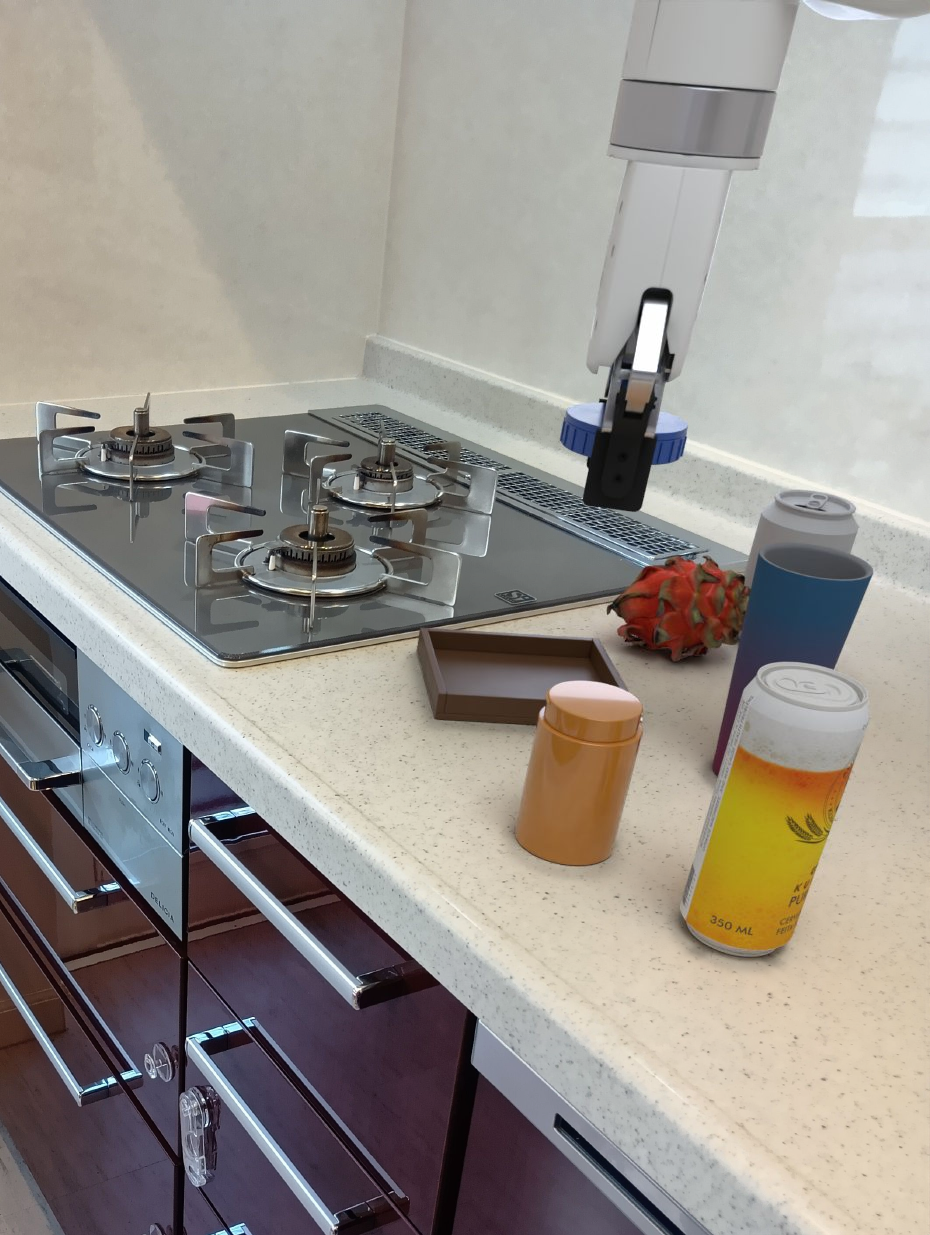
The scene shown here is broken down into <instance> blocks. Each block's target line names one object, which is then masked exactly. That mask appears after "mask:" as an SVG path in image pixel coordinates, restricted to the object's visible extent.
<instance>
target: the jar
mask: <svg viewBox="0 0 930 1235" xmlns="http://www.w3.org/2000/svg"><path fill="white" fill-rule="evenodd" d="M545 700H546V706H544V707H543V708H542V709H541V710H540V712H539V714H538V719H537V724H536V725H535V729H534V734H533V739H532V744H531V750H530V753H529V759H528V764H527V768H526V773H525V779H524V784H523V787H522V788H523V789H522V794H521V799H520V803H519V808H518V813H517V818H516V823H515V828H514V836H515V838H516V841H517V842H518V843H519V845H520V846H521V847H522V848H523V849H524V850H526V851H527V852H529V853H531V854H532V855H533V856H535V857H538V858H540V859H542V860H545V861H548V862H552V863H555V864H560V865H567V866H590V865H595V864H599V863H602V862H604V861H606V860H607V859H608V858H609V857H610V856H612V854H613V852H614V848H615V845H616V840H617V837H618V832H619V830H620V825H621V820H622V817H623V812H624V809H625V806H626V801H627V797H628V793H629V789H630V785H631V781H632V777H633V773H634V770H635V765H636V761H637V757H638V753H639V749H640V746H641V742H642V739H643V738H642V737H643V734H644V730H643V726H642V724H643V722H644V721H643V717H644V715H643V711H644V706H643V703H642V701H641V700H640V699H639V698H638V697H637V696H635V695H634V694H633V693H632V692H630V691H629V692H627V691H625V690H623V689H621V688H618V687H615V686H612V685H609V684H604V683H599V682H593V681H567V682H562V683H559V684H556V685H555V686H553V687H552V688H550V689H549V690H548V692H546V697H545Z"/></svg>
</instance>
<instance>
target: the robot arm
mask: <svg viewBox="0 0 930 1235" xmlns="http://www.w3.org/2000/svg"><path fill="white" fill-rule="evenodd" d="M802 2H803V3H804V4H805V5H806V6H807V7H808V8H810V9H811V10H812V11H814V12H815V13H817V14H819V15H821V16H823V17H826V18H829V19H833V20H837V21H862V20H863V21H864V20H869V21H891V20H904V19H905V20H906V19H912V18H919V17H921V16H926V15H930V0H634V6H633V10H632V15H631V22H630V27H629V33H628V38H627V42H626V49H625V55H624V61H623V65H622V71H621V78H622V79H621V80H620V81H619V86H618V91H617V97H616V102H615V108H614V113H613V118H612V124H611V128H610V129H611V130H610V135H609V140H608V142H609V143H608V146H607V151H606V156H608V157H609V158H611V157H612V158H614V159H619V160H624V161H627V162H626V165H625V169H624V172H623V176H622V179H621V184H620V187H619V191H618V195H617V199H616V203H615V208H614V211H613V217H612V220H611V226H610V231H609V235H608V240H607V245H606V251H605V258H604V262H603V266H602V272H601V277H600V282H599V288H598V295H597V299H596V303H595V309H594V314H593V319H592V325H591V330H590V337H589V342H588V347H587V353H586V361H585V366H586V367H587V369H588V371H590V373H591V374H593V375H598V372H599V367H606V368H609V369H608V370H609V371H608V375H607V379H606V385H605V389H604V394H603V398H599V399H598V403H607V404H606V409H605V414H604V420H603V425H602V429H599V428H597V429H596V434H595V439H594V444H593V449H592V454H591V458H590V457H586V458H587V459H586V468H587V474H586V479H585V485H584V489H583V494H582V502H583V504H584V505H585V506H587V507H592V508H593V507H594V508H600V509H608V510H616V511H623V512H631V513H636V512H639V511H640V510H641V509H642V507H643V504H644V500H645V496H646V491H647V486H648V482H649V477H650V475H651V474H650V473H651V468H652V466H653V465H652V461H653V456H654V452H655V447H656V443H657V439H658V436H655V431H656V427H657V422H658V417H659V412H660V411H661V407H662V402H663V398H664V397H663V396H664V391H665V387H666V386H665V385H666V383H670V382H673V381H674V380H676V379H677V378H679V377H680V376H681V373H682V371H683V367H684V364H685V361H686V358H687V354H688V352H689V347H690V344H691V341H692V337H693V335H694V334H693V333H694V332H695V327H696V324H697V321H698V317H699V313H700V310H701V306H702V302H703V298H704V295H705V291H706V287H707V283H708V279H709V276H710V272H711V267H712V264H713V260H714V257H715V256H714V255H715V252H716V247H717V243H718V239H719V235H720V231H721V226H722V222H723V219H724V214H725V209H726V205H727V201H728V197H729V193H730V187H731V184H732V181H733V180H732V179H733V175H734V171H745V172H746V171H759V169H760V166H761V163H762V159H763V158H762V156H763V154H764V149H765V147H766V146H765V145H766V142H767V139H768V138H767V137H768V133H769V131H770V130H769V129H770V125H771V121H772V117H773V113H774V109H775V105H776V102H777V96H778V93H777V91H779V88H780V84H781V80H782V75H783V71H784V67H785V63H786V59H787V56H788V52H789V47H790V43H791V39H792V35H793V30H794V26H795V22H796V19H797V15H798V10H799V6H800V4H801V3H802ZM616 407H617V410H616ZM615 412H616V414H615ZM614 417H615V418H614Z"/></svg>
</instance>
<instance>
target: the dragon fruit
mask: <svg viewBox="0 0 930 1235" xmlns="http://www.w3.org/2000/svg"><path fill="white" fill-rule="evenodd" d="M702 558H703V559H705V562H704V563H703V564H702V563H701V562H699V563H695V562H694V560H693V559H690V558H689V559H684V557H683V556H679V555H674V556H670V557H669V558H667V559H666V560H665V561H664V564H652V565H646V566H644V567H643V568H642V569H641V571H640V572H639V573H638V575H637V577H636V578H635V579H634V580H633V582H632V583H631V584H630V585H628V586H627V587H626V588H625V590H624V591H622V592H621V593H620V594H619V595H617V597H615V599H614V600H612V603H610V604H608V605H607V606H606V616H608V615H610V614H611V611H613V612H614V613H615V615H616V617H618V618H621V619H622V620H623V621H624V622H625V624H622V625H620V626H619V627H618V628H617V629H616V634H617V636H619V637H621V638H622V637H623V639H624V643H628V644H633V645H638V646H641V647H642V648H643V649H646V650H648V651H649V650H650V651H655V650H660V649H669V650H671V654H670V655H671V656H670V658H671V661H673V662H679V660H682V659H685V658H687V657H689V656H690V657H691V656H694V657H701V656H706V655H707V653H708V651H709V649H720V648H721V647H722V645H723V644H724V645H728V646H735V645H739V641H740V638H738V639H737V640H736V638H737V637H738V634H739V631H742V627H743V623H744V618H745V613H746V609H747V604H748V600H749V595H750V590H751V589H750V588H749V586H744V584H745V583H744V582H745V576H744V574H741V573H739V572H736V571H734V570H732V569H727V570H722V569H720V568H719V564H718V563H717V562H716V561H715V560H714V559H713V558H712V557H711V556H710V555H708V554H707V555H703V556H702ZM685 650H686V652H684V651H685ZM682 652H684V653H682Z"/></svg>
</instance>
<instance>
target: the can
mask: <svg viewBox="0 0 930 1235" xmlns="http://www.w3.org/2000/svg"><path fill="white" fill-rule="evenodd" d="M773 498H774V501H773V502H771V503H770V504H769V505H767V506H766V507H764V508H763V509H762V511H761V513H760V516H759V520H758V524H757V527H756V530H755V534H754V538H753V541H752V543H751V547H750V548H751V549H750V551H749V555H748V559H747V562H746V566H745V569H744V573H743V576H745V582H744V583H745V584H744V586H749V588H750V589H751V586H752V581H753V577H754V572H755V568H756V563H757V558H758V554H759V550H760V549H761V548H762V547H763V546H766V545H769V544H773V543H784V542H792V543H805V544H813V545H819V546H824V547H829V548H833V549H837V550H840V551H843V552H846V553H849V554H852V550H853V546H854V544H855V541H856V538H857V534H858V531H859V527H860V526H859V524H858V523H857V520H856V519H855V517H854V515H853V514H854V513H856V511H857V507H856V505H855V504H854V503H853V502H851V501H849V500H848V499H846V498H843V497H841V496H838V495H834V494H830V493H827V492H822V491H817V490H810V489H794V488H792V489H782V490H780V491H777V492H775V494H774V496H773ZM741 632H742V631H739V634H738V635H737V637H738V639H740V636H741Z"/></svg>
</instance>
